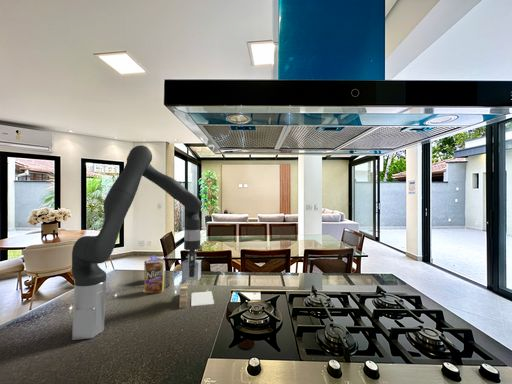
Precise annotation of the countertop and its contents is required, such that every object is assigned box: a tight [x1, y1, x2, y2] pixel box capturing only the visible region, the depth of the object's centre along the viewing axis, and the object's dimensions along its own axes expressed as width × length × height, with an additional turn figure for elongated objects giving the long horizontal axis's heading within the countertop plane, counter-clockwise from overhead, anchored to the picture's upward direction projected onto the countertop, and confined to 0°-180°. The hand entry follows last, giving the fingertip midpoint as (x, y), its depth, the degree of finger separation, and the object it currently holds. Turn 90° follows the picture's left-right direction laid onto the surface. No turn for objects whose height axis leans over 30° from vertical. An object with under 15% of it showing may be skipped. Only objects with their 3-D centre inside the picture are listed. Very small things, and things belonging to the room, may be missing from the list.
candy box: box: [143, 260, 166, 294], centre depth 125 cm, size 9×4×15 cm, turn 98°
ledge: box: [178, 283, 189, 309], centre depth 114 cm, size 16×3×5 cm, turn 14°
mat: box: [190, 291, 215, 308], centre depth 116 cm, size 16×10×1 cm, turn 14°
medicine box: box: [181, 259, 202, 282], centre depth 115 cm, size 8×4×9 cm, turn 85°
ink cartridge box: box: [143, 254, 165, 283], centre depth 142 cm, size 10×6×14 cm, turn 148°
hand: (191, 274), depth 115 cm, fingers closed on medicine box, 5 cm apart
